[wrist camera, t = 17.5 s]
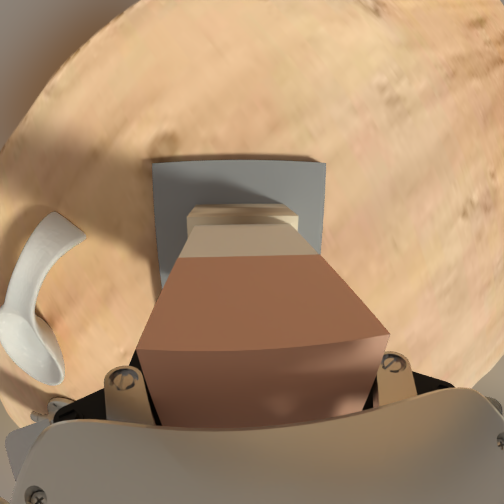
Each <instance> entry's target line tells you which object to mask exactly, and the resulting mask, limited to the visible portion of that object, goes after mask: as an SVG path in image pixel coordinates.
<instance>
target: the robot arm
mask: <svg viewBox="0 0 504 504" xmlns="http://www.w3.org/2000/svg"><path fill="white" fill-rule="evenodd" d="M141 336H142V335H141ZM138 343H139V342H138ZM47 408H48V412H49V413H48V415H47V414H45V415H42V414H40V413H37V412H34V411H32V412H31V415H30V416H31V419H32V420H33V421H35V422H37V423H34V424H31V425H29V426H26V427H23V428H20V429H17V430H15V431H12V432H11V433H9V435H8V436H7V437H6V440H5V446H6V451H7V454H8V458H9V462H10V465H11V468H12V472H13V475H14V478H15V481H16V484H15V487H14V490H13V493H12V497H11V500H10V503H9V502H8V501H6V500H5V499H3V498H2V497H0V504H504V418H503V416H502V406H501V404H500V403H499V402H498V401H497V400H496V399H493V398H490V397H485V396H483V395H482V394H481V393H479V392H478V391H476V390H473V389H470V388H461V387H460V388H455V387H454V386H453V385H452V384H450V383H448V382H446V381H442V380H439V379H435V378H432V377H429V376H426V375H422V374H419V373H416V372H413V371H412V370H411V366H410V363H409V361H408V359H407V358H406V357H405V356H403V355H402V354H400V353H397V352H392V351H387V352H384V355H383V358H382V361H381V364H380V366H379V369H378V372H377V375H376V377H375V380H374V382H373V385H372V387H371V390H370V392H369V395H368V397H367V400H366V402H365V404H364V407H363V409H362V411H359V412H355V413H350V414H345V415H341V416H336V417H330V418H325V419H319V420H313V421H306V422H299V423H291V424H282V425H272V426H260V427H242V428H186V427H170V426H162V424H161V421H160V419H159V416H158V413H157V411H156V408H155V406H154V403H153V400H152V397H151V395H150V392H149V389H148V386H147V383H146V380H145V377H144V374H143V371H142V368H141V365H140V361H139V358H138V355H137V351H136V350H135V352H134V354H133V357H132V359H131V362H130V364H129V366H119V367H116V368H114V369H112V370H110V371H109V372H108V373H107V375H106V376H105V379H104V388H103V389H101V390H99V391H97V392H95V393H92V394H90V395H88V396H86V397H84V398H81V399H79V400H77V401H75V402H74V401H72V400H69V399H65V398H52V399H51V400H50V402H49V403H48V407H47Z"/></svg>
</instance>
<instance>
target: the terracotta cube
mask: <svg viewBox="0 0 504 504" xmlns="http://www.w3.org/2000/svg"><path fill="white" fill-rule="evenodd" d="M389 337H390V333H389V332H388V331H387V330H386V328H385V327H384V326H383V325H382V324H381V322H380V321H379V320H378V319H377V318H376V317H375V315H374V314H373V313H372V312H371V311H370V310H369V308H368V307H367V306H366V305H365V304H364V303H363V302H362V300H361V299H360V298H359V297H358V296H357V295H356V294H355V293H354V291H353V290H352V289H351V288H350V287H349V286H348V285H347V284H346V282H345V281H344V280H343V279H342V278H341V277H340V276H339V275H338V274H337V273H336V271H335V270H334V269H333V268H332V267H331V266H330V265H329V264H328V263H327V262H326V261H325V259H324V258H323V257H322V256H321V255H320V254H316V255H276V256H233V257H187V258H177V260H176V262H175V264H174V266H173V268H172V270H171V272H170V274H169V276H168V278H167V281H166V283H165V285H164V287H163V289H162V291H161V293H160V295H159V298H158V300H157V302H156V304H155V306H154V308H153V311H152V313H151V315H150V317H149V320H148V322H147V324H146V326H145V329H144V331H143V333H142V336H141V338H140V340H139V343H138V345H137V347H136V351H137V355H138V358H139V361H140V365H141V368H142V371H143V374H144V377H145V380H146V383H147V386H148V389H149V392H150V395H151V397H152V400H153V403H154V406H155V408H156V411H157V413H158V416H159V419H160V421H161V424H162V426H170V427H186V428H242V427H260V426H272V425H282V424H291V423H299V422H306V421H313V420H319V419H325V418H330V417H336V416H341V415H345V414H350V413H355V412H359V411H362V409H363V407H364V404H365V402H366V400H367V397H368V395H369V392H370V390H371V387H372V385H373V382H374V380H375V377H376V375H377V372H378V369H379V366H380V364H381V361H382V358H383V355H384V352H385V349H386V346H387V343H388V340H389Z"/></svg>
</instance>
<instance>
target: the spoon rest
mask: <svg viewBox="0 0 504 504" xmlns="http://www.w3.org/2000/svg"><path fill="white" fill-rule="evenodd" d="M85 239H86V234H85V233H84V232H83V231H81V230H80V229H79V228H77V227H76V226H75V225H73V224H72V223H71V222H70V221H68V220H67V219H66V218H65V217H63V216H62V215H60V214H59V213H57V212H51V213H50V214H48V215H47V216H46V217H45V218H44V219H43V220H42V221H41V222H40V223H39V224H38V226H37V227H36V228H35V230H34V231H33V233H32V234H31V236H30V238H29V239H28V241H27V243H26V245H25V246H24V248H23V250H22V252H21V255H20V257H19V259H18V261H17V263H16V266H15V268H14V271H13V273H12V276H11V279H10V282H9V285H8V289H7V293H6V297H5V302H4V304H3V305H2V306H1V307H0V342H1V344H2V346H3V348H4V349H5V351H6V352H7V354H8V355H9V356H10V358H11V359H12V360H13V361H14V362H15V363H16V364H17V365H18V366H19V367H20V368H21V369H22V370H23V371H25V372H26V373H27V374H28V375H30V376H31V377H33V378H34V379H36V380H38V381H40V382H42V383H44V384H47V385H59V384H60V383H62V381H63V380H64V376H65V366H64V360H63V355H62V352H61V349H60V346H59V344H58V341H57V339H56V336H55V334H54V332H53V330H52V329H51V328H50V326H49V325H48V324H47V323H46V322H45V321H44V320H43V319H42V318H40V317H39V316H37V315H35V305H36V300H37V296H38V293H39V290H40V287H41V285H42V283H43V280H44V278H45V277H46V275H47V273H48V271H49V270H50V269H51V267H52V266H53V265H54V264H55V262H56V261H57V260H58V259H59V258H60V257H61V256H62V255H64V254H65V253H66V252H67V251H69V250H70V249H72V248H73V247H75V246H76V245H78V244H79V243H81V242H82V241H84V240H85Z"/></svg>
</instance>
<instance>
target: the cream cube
mask: <svg viewBox="0 0 504 504" xmlns="http://www.w3.org/2000/svg"><path fill="white" fill-rule="evenodd" d="M316 254H318V253H317V252H316V251H315V249H314V248H313V247H312V246H311V245H310V244H309V243H308V242H307V241H306V240H305V239H304V238H303V237H302V236H301V235H300V234H299V233H298V231H297V230H296V229H295V228H294V227H293V226H292V225H291V224H232V225H195V226H194V228H193V230H192V232H191V233H190V235H189V237H188V239H187V241H186V243H185V245H184V247H183V249H182V251H181V253H180V255H179V257H178V258H187V257H233V256H276V255H316Z"/></svg>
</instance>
